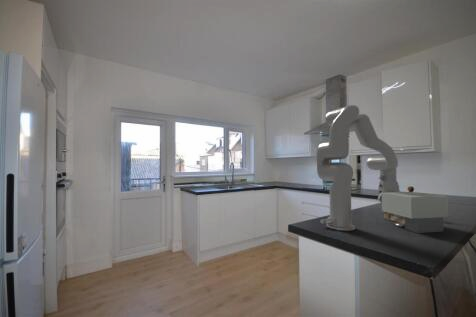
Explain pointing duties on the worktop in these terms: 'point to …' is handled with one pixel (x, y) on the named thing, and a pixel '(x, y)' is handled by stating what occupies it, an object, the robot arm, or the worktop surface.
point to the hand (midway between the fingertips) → (388, 211)
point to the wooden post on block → (393, 217)
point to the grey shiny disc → (400, 224)
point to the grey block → (417, 210)
